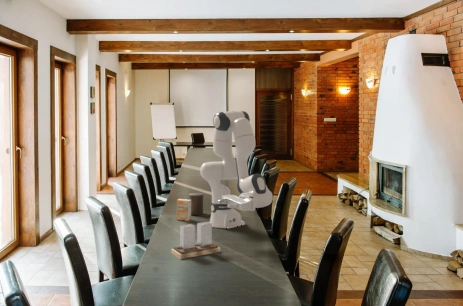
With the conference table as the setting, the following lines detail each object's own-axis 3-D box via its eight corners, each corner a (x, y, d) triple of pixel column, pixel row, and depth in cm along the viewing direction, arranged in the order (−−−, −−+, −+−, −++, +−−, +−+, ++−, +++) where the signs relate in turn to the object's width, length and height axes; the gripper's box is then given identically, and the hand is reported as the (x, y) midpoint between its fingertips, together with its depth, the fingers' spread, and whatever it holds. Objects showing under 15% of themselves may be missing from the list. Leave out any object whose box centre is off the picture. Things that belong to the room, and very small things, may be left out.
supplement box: (176, 220, 277) (176, 199, 276) (179, 218, 282) (179, 198, 281) (188, 221, 275) (188, 200, 274) (191, 219, 280) (191, 199, 278)
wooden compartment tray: (210, 246, 226) (210, 241, 226) (220, 251, 218) (220, 246, 217) (171, 253, 214) (171, 247, 214) (180, 259, 206) (180, 253, 206)
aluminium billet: (207, 244, 222) (207, 221, 220) (211, 247, 218) (211, 223, 217) (197, 246, 218) (197, 223, 217) (200, 249, 215) (201, 225, 214)
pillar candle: (202, 216, 290) (203, 193, 288) (187, 215, 289) (188, 193, 288) (203, 212, 299) (203, 191, 298) (189, 212, 299) (189, 190, 298)
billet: (190, 247, 216) (191, 224, 215) (194, 250, 213) (194, 225, 212) (179, 249, 213) (180, 225, 212) (183, 252, 210) (183, 227, 209)
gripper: (235, 191, 240) (213, 193, 232) (257, 199, 223) (234, 202, 215) (234, 202, 241) (213, 205, 233) (256, 211, 224) (233, 214, 216)
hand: (223, 203), depth 224 cm, fingers open, 8 cm apart
